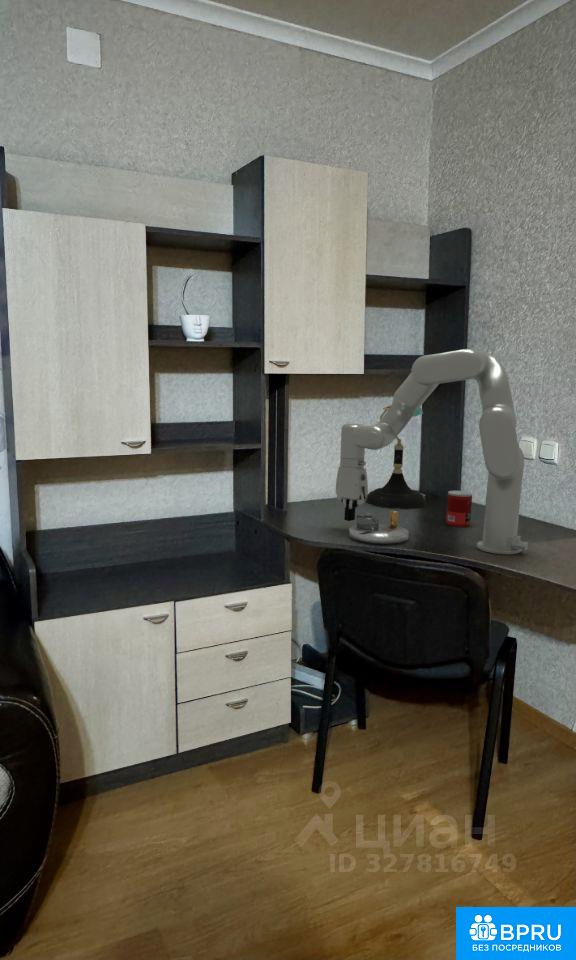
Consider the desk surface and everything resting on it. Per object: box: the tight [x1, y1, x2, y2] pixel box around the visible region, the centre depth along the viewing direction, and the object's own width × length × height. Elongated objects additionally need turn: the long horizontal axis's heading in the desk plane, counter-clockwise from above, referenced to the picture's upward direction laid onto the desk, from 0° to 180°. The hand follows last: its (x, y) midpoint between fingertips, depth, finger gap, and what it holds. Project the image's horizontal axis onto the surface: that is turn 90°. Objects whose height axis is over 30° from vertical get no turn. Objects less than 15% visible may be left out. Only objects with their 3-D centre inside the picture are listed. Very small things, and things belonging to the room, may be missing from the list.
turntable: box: [348, 510, 409, 544], centre depth 212 cm, size 18×18×7 cm
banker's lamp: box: [365, 405, 427, 510], centre depth 266 cm, size 26×23×40 cm
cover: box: [355, 511, 380, 530], centre depth 216 cm, size 7×7×4 cm
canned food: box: [445, 490, 473, 528], centre depth 234 cm, size 8×8×11 cm
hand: (349, 520), depth 221 cm, fingers closed
